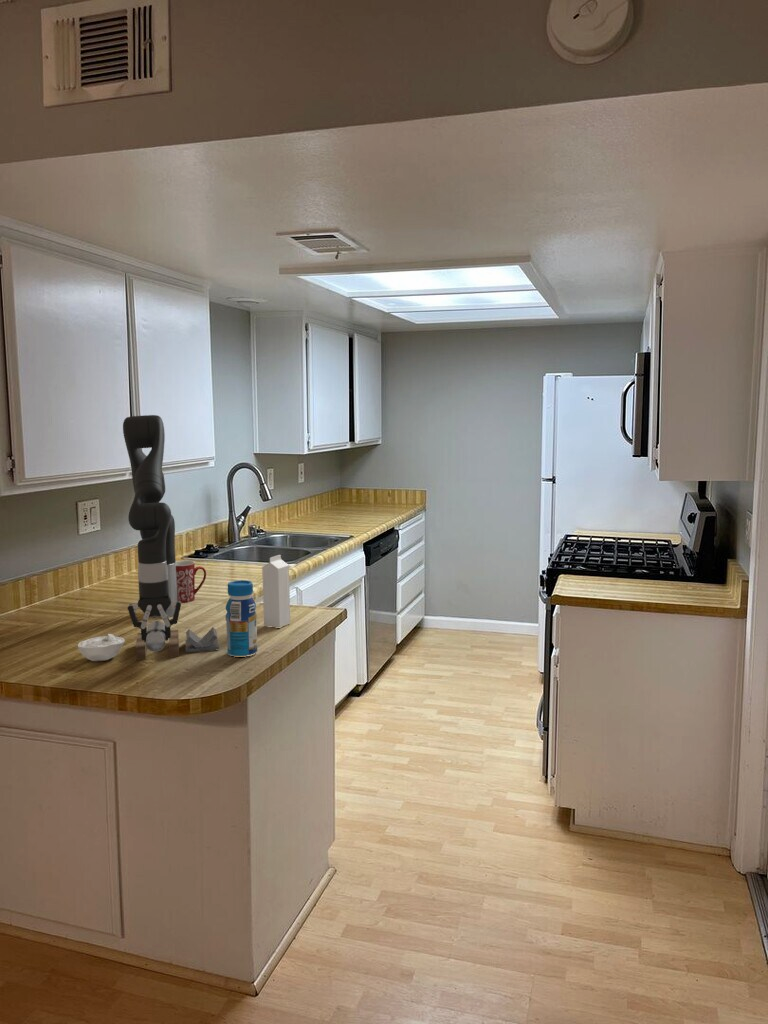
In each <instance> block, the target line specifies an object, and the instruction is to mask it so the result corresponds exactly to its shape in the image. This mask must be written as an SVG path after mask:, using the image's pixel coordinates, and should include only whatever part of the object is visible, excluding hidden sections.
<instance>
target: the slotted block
mask: <svg viewBox="0 0 768 1024" xmlns="http://www.w3.org/2000/svg"><path fill="white" fill-rule="evenodd" d="M170 630H171V629H170ZM179 637H180V636H179V629H173V630H171V637H170V638H168V654H169V656H168V657H169V658H175V657H176V658H177V657H180V642H179V641H180V639H179ZM135 642H136V643H135V648H134V649H135V661H142V660H146V659H147V652H148V648H147V646H146V642H144V640H142V639H141V632H138V633H137V637H136V641H135Z"/></svg>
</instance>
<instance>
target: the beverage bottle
mask: <svg viewBox="0 0 768 1024" xmlns="http://www.w3.org/2000/svg"><path fill="white" fill-rule="evenodd" d="M253 585H254V584H253V582H252V581H250V580H242V579H241V580H233V581H229V582H228V584H227V594H228V596H229V598H228V601H227V602H226V603H225V610H226V613H225V614H226V615H225V621H226V642H227V643H226V644H227V645H226V646H227V649H226V650H227V655H228V656H229V655H230V656H229V657H231V656H247V655H251V654H254V653H256V652H257V653H258V630H257V629H258V628H257V627H258V625H257V620H258V619H257V618H258V613H257V611H256V609H257V604H256V602H255V599H254V598H253V597H252V595H253V594H254V586H253ZM257 653H256V654H257Z"/></svg>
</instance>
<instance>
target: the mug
mask: <svg viewBox="0 0 768 1024" xmlns="http://www.w3.org/2000/svg"><path fill="white" fill-rule="evenodd" d="M195 564H196V562H195V561H194V560H178V561H177V560H176V581H177V601H178V600H179V601H181V604H183V603H190V602H193V601H194V600H196V599H195V596H196V594H197V593H198V591H200V589H201V588H202V586H203V585H204V583H205V581H206V578H207V571H206V568H205V567H204V566H196V567H195ZM198 570H202V571H203V578H202V580H201V582H200V583H199V585H198V586H197V587H196V588H195V576H196V574H197V571H198Z"/></svg>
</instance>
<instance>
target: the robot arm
mask: <svg viewBox="0 0 768 1024" xmlns="http://www.w3.org/2000/svg"><path fill="white" fill-rule="evenodd" d="M122 434H123V439H124V442H125V446H126V451H127V454H128V458H129V464H130V469H131V479H132V486H133V490H134V496H133V497H134V498H133V500H132V503H131V506H130V508H129V511H128V512H129V513H128V518H127V519H128V524H129V526H130V527H131V528H132V529H133V530H135V531H139V535H140V537H141V540H139V541H138V542H137V559H138V563H137V564H138V567H137V578H138V582H137V583H138V594H139V595H138V600H137V602H136V603H129V604H128V605H127V610H128V611H127V612H128V613H129V616H130V619H131V622H132V625H133V627H134V628H139V629H140V633H141V639H142V640H144V642H146V637H147V629H148V626H147V624H148V621H149V618H150V617H151V618H161V619H162V621H163V624H164V625H165V642H166V641H169V638H170V637H171V626H173V625H177V624H178V620H179V615H180V610H181V606H182V603H181V601H179V600H178V601H177V581H176V561H177V559H176V547H175V546H176V544H175V543H176V542H175V541H176V539H175V538H176V535H175V534H176V523H175V522H176V521H175V517H174V516H173V514H172V510H171V507H170V506H169V505H168V504H167V503H166V502H161V501H162V499H163V497H164V496H165V493H166V483H165V475H164V472H163V464H164V463H163V461H164V453H165V441H166V439H165V435H166V434H165V426H164V422H163V418H162V417H161V416H160V415H156V414H148V415H146V414H145V415H132V416H127V417H125V418H124V420H123V423H122ZM148 448H149V449H150V448H151V449H150V451H149V453H148V454H145V453H144V451H143V450H142V449H148ZM138 608H139V609H140V610H141V611H142V613H144V614H143V617H142V620H141V621H139V619H138V616H137V613H136V612H138V611H137V610H138ZM170 617H172V618H171V619H170Z"/></svg>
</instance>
